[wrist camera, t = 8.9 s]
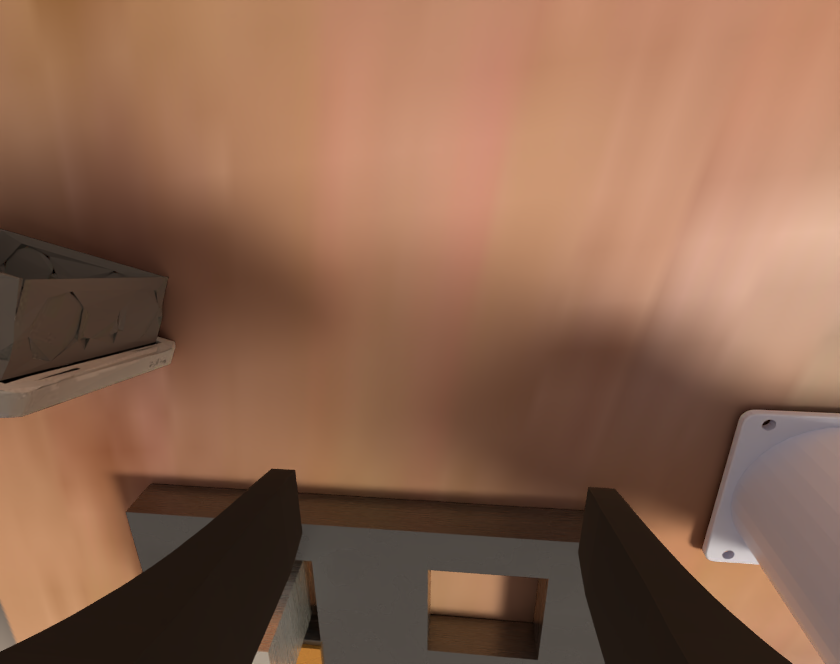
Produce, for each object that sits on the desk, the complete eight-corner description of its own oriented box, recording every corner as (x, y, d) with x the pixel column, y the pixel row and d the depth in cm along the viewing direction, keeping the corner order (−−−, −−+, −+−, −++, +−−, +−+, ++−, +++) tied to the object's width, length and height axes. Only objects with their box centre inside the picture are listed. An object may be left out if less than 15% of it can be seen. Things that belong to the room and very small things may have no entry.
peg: (310, 539, 26) (267, 651, 20) (318, 595, 27) (279, 713, 22) (236, 535, 26) (174, 644, 21) (247, 590, 28) (192, 706, 22)
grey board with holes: (617, 513, 23) (631, 549, 21) (590, 656, 27) (600, 699, 25) (150, 483, 25) (122, 515, 23) (186, 621, 29) (165, 659, 27)
